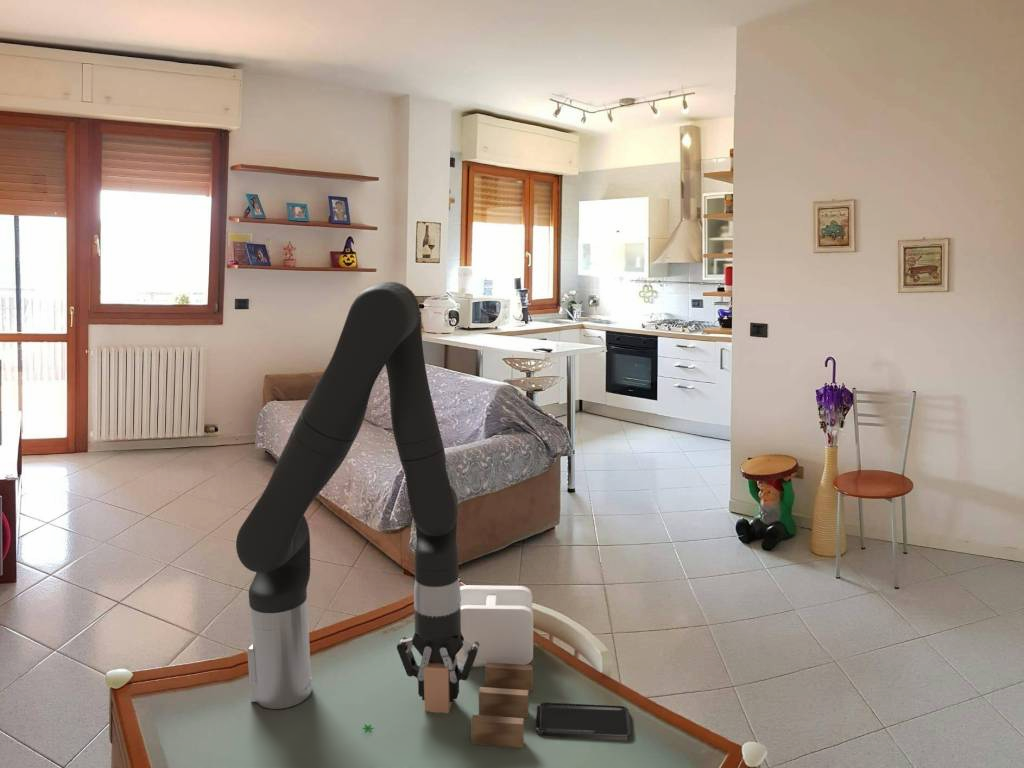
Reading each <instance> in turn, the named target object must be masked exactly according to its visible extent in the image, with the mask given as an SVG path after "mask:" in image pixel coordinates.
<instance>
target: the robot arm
mask: <svg viewBox="0 0 1024 768" xmlns="http://www.w3.org/2000/svg"><path fill="white" fill-rule="evenodd" d="M420 312H421V310H420V303H419V300H418V299H417V296H416V294H415V293H414V292H413V291H412V290H411V289H410V288H409V287H408V286H406V285H404V284H402V283H400V282H397V281H384V282H381V283H378V284H375V285H373V286H369V287H368V288H366V289H364V290H363V291H361V292H360V293H358V295H357V296H356V297H355V299H354V300H353V302H352V304H350V308H349V311H348V313H347V316H346V319H345V322H344V325H343V327H342V330H341V333H340V335H339V339H338V340H337V344H336V347H335V350H334V351H333V354H332V356H331V358H330V361H329V362H328V364H327V366H326V367H325V369H324V372H322V374H321V376H320V378H319V379H318V381H317V383H316V385H315V386H314V388H313V390H312V391H311V393H310V395H309V396H308V398H307V401H306V403H305V404H304V405H303V408H302V410H301V412H300V414H299V416H298V418H297V420H296V422H295V423H294V426H293V428H292V430H291V432H290V434H289V437H288V440H287V442H286V443H285V446H284V448H283V450H282V452H281V454H280V456H279V459H278V461H277V462H276V463H277V464H276V465H275V466H274V469H273V472H272V475H271V477H270V478H269V481H268V483H267V485H266V487H265V488H264V490H263V492H262V494H261V496H260V497H259V499H258V501H257V502H256V504H255V505H254V506H253V508H252V509H251V511H250V513H249V514H248V515H247V517H246V519H245V520H244V522H243V523H242V524H241V526H240V527H239V530H238V532H237V535H236V541H235V547H236V548H235V549H236V553H237V557H238V559H239V562H240V563H241V564H242V565H243V566H244V568H246V569H247V570H249V571H250V572H255V576H254V578H253V579H252V582H251V584H250V586H249V589H248V604H249V615H250V616H249V618H250V629H251V630H250V631H251V632H250V633H251V645H250V646H249V647H248V648H247V666H248V667H247V668H248V677H249V678H248V680H249V693H250V702H251V703H252V702H253V703H257V704H258V705H260V706H262V707H264V708H267V709H272V710H279V709H280V710H281V709H282V710H283V709H287V708H290V707H294V706H297V705H299V704H301V703H302V702H304V701H305V700H306V699H308V698H309V696H310V695H311V693H312V688H313V687H312V686H313V685H312V680H313V679H312V670H311V667H312V665H311V649H310V647H311V646H310V632H309V631H310V629H309V614H308V613H309V612H308V611H309V610H308V594H307V590H308V584H309V582H310V577H311V535H310V528H309V524H308V523H309V522H308V521H307V519H306V517H305V514H306V512H307V510H308V508H309V507H310V505H311V504H312V503H313V501H314V500H315V499H316V497H317V496H318V495H319V494H320V493H321V492H322V490H323V489H324V488H325V487H326V485H327V484H328V483H329V482H330V480H331V478H332V477H333V476H334V475H335V473H336V472H337V471H338V469H339V468H340V467H341V465H342V464H343V462H344V460H345V459H346V457H347V456H348V454H349V451H350V450H351V447H352V446H353V445H354V442H355V440H356V438H357V436H358V434H359V432H360V430H361V427H362V425H363V423H364V419H365V416H366V413H367V408H368V406H369V401H370V397H371V393H372V391H373V390H372V389H373V387H374V384H375V383H376V380H377V379H378V377H379V375H380V373H381V372H382V371H383V369H384V367H385V369H386V374H387V378H388V387H389V403H390V405H389V406H390V410H389V411H390V420H391V426H392V431H393V437H394V441H395V445H396V449H397V450H396V451H397V453H398V457H399V461H400V464H401V467H402V469H403V473H404V476H405V483H406V491H407V497H408V502H409V506H410V507H409V508H410V512H411V516H412V520H413V521H414V525H415V535H416V544H415V545H416V546H415V551H414V552H415V553H414V586H413V588H414V589H413V607H414V608H413V609H414V612H413V613H414V634H413V637H409V638H407V637H405V636H402V637H401V638H399V642H398V644H397V645H396V650H397V653H398V656H399V657H400V659H401V663H402V666H403V668H404V670H405V673H406V675H407V676H408V677H411V678H412V677H415V678H416V679H417V683H418V684H417V690H418V691H417V692H418V696H419V697H421V700H422V701H424V666H426V667H427V666H428V663H435V662H438V663H442V664H444V665H445V668H448V671H449V678H450V682H449V702H452V703H454V702H455V700H457V699H458V696H459V694H460V681H461V680H462V681H467V680H468V679H469V675H470V673H471V671H472V668H473V667H472V665H473V663H474V660H475V657H476V655H477V652H478V648H479V643H478V642H473V643H470V642H467V641H465V640H464V638H463V636H462V634H461V603H460V602H461V595H460V587H461V586H460V579H459V567H460V566H459V551H458V545H457V530H458V529H457V524H458V517H459V516H458V514H459V509H458V507H459V506H458V505H459V504H458V497H457V496H458V495H457V493H456V491H455V489H454V488H453V486H452V485H451V483H450V479H449V474H448V472H447V462H446V461H447V459H446V452H445V447H444V443H443V440H442V439H443V438H442V435H441V432H440V431H441V430H440V427H439V423H438V419H437V415H436V411H435V407H434V404H433V399H432V393H431V390H430V385H429V381H428V375H427V369H426V362H425V356H424V347H423V336H422V335H423V333H422V321H421V313H420ZM413 648H415V649H416V650H417V652H418V653H419V654H420V656H421V661H420V663H419V665H418V664H417V661H416V659H415V656H414V653H413ZM461 648H463V649H464V655H465V656H466V657H467V659H466V662H465V664H463V667H462V668H460V667H459V664H458V661H457V657H456V654H457V653H458V652H459V650H460V649H461Z"/></svg>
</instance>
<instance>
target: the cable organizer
mask: <svg viewBox="0 0 1024 768" xmlns="http://www.w3.org/2000/svg"><path fill="white" fill-rule="evenodd" d="M460 595H461V602H460V603H461V634H462V636H463V638H464V640H465V641H467V642H470V643H473V642H478V643H479V648H478V652H477V655H476V657H475V660H474V663H473V665H472V668H476V667H486V664H487V662H490V663H506V664H521V665H529V664H530V663H531V662H532V661H533V659H534V612H533V592H532V590H531V589H530V588H528V587H527V586H524V585H478V584H477V585H474V584H473V585H472V584H471V585H469V584H467V585H461V586H460ZM456 657H457V663H459V664H462V665H465V662H466V659H467V657H466V656H465V655H464V649H463V648H461V649H460V650H459V652H458V653H457V654H456Z"/></svg>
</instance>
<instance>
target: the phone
mask: <svg viewBox="0 0 1024 768" xmlns="http://www.w3.org/2000/svg"><path fill="white" fill-rule="evenodd" d="M630 717H631V716H630V710H629V708H628V707H626V706H623V705H607V704H606V705H604V704H603V705H602V704H586V703H584V704H583V703H582V704H581V703H561V702H540V703H538V704H537V706H536V717H535V718H536V719H535V733H536V735H537V736H540V737H550V738H551V737H552V738H553V737H554V738H570V739H571V738H573V739H574V738H575V739H593V740H610V741H629V740H630V739H631V738H632V728H631V720H630ZM628 739H629V740H628Z"/></svg>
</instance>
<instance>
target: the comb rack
mask: <svg viewBox="0 0 1024 768" xmlns="http://www.w3.org/2000/svg"><path fill="white" fill-rule="evenodd" d="M533 676H534V675H533V665H532V664H526V665H521V664H506V663H490V662H487V664H486V666H485V686H479V690H478V714H472V716H471V719H470V727H471V728H470V732H471V733H470V735H471V737H470V739H471V740H470V743H471V745H484V746H496V747H508V748H509V747H511V748H523V747H524V741H525V736H524V735H525V718H526V719H528V716H529V692H532V691H533Z"/></svg>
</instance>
